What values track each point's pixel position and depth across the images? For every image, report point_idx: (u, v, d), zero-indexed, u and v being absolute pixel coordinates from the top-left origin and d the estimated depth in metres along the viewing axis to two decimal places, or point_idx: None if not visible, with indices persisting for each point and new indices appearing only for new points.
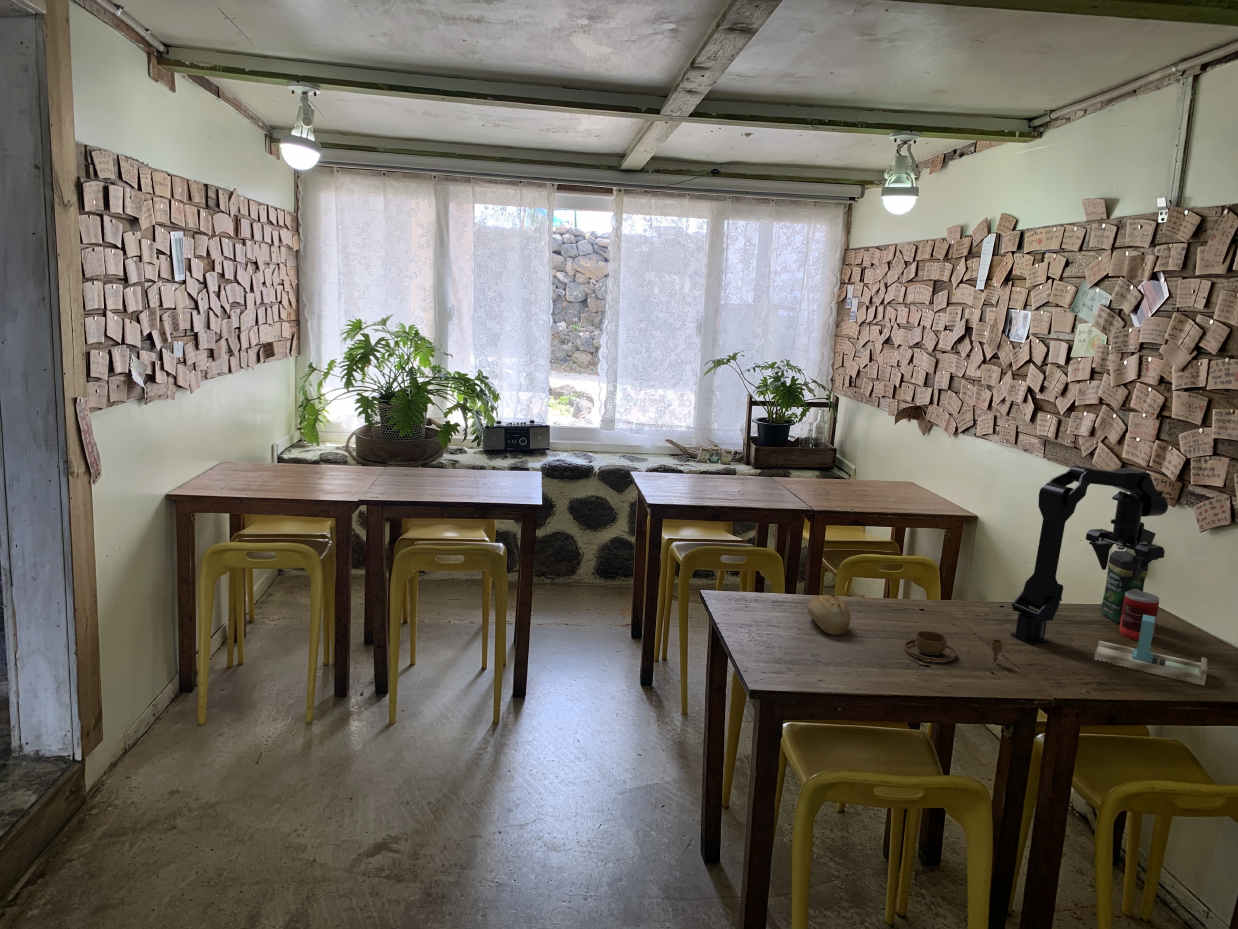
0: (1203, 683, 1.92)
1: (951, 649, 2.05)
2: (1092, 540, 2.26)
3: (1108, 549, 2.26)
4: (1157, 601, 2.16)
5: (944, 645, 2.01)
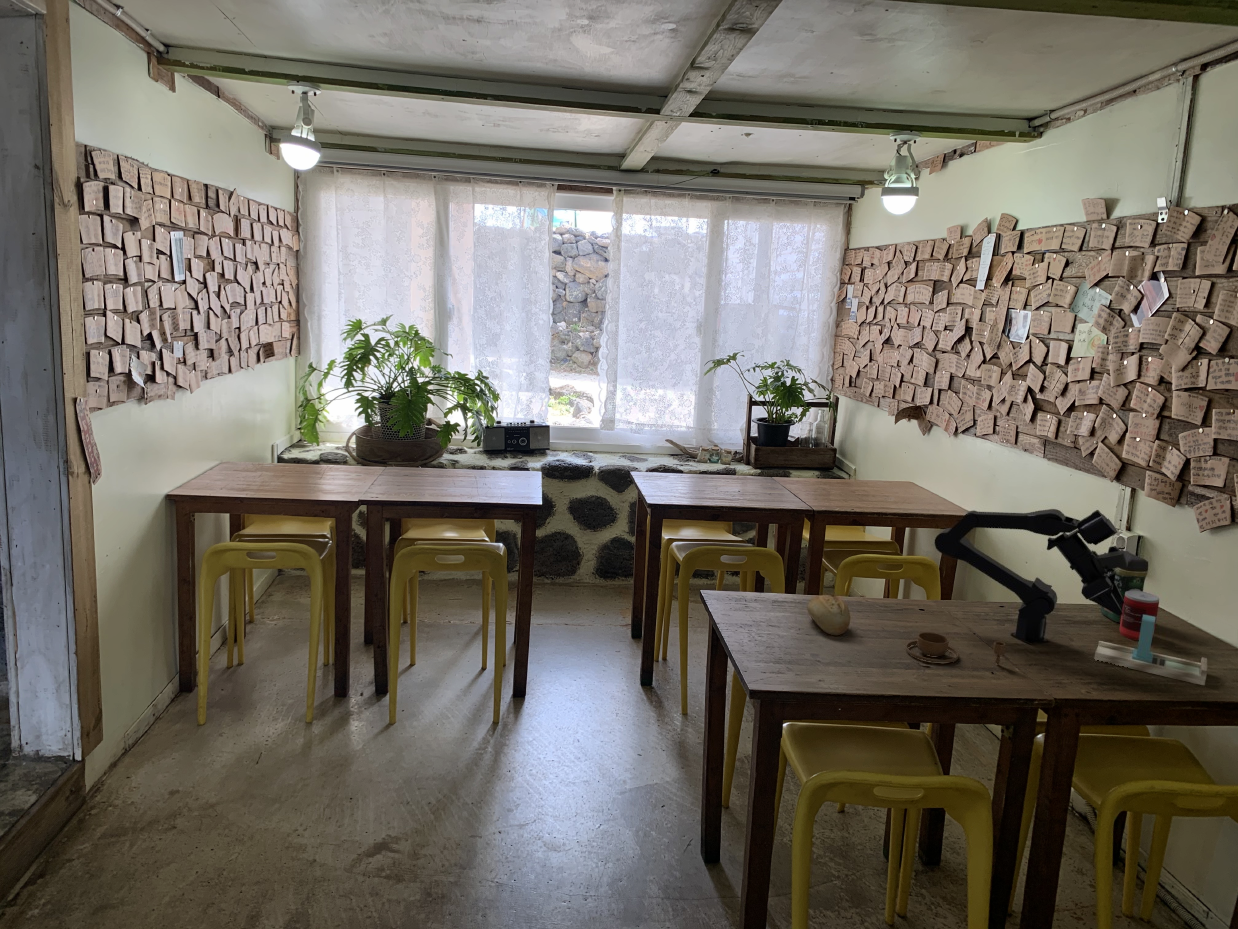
0: (1203, 683, 1.92)
1: (953, 651, 2.04)
2: None
3: (1111, 582, 2.08)
4: (1157, 601, 2.16)
5: (945, 647, 2.00)
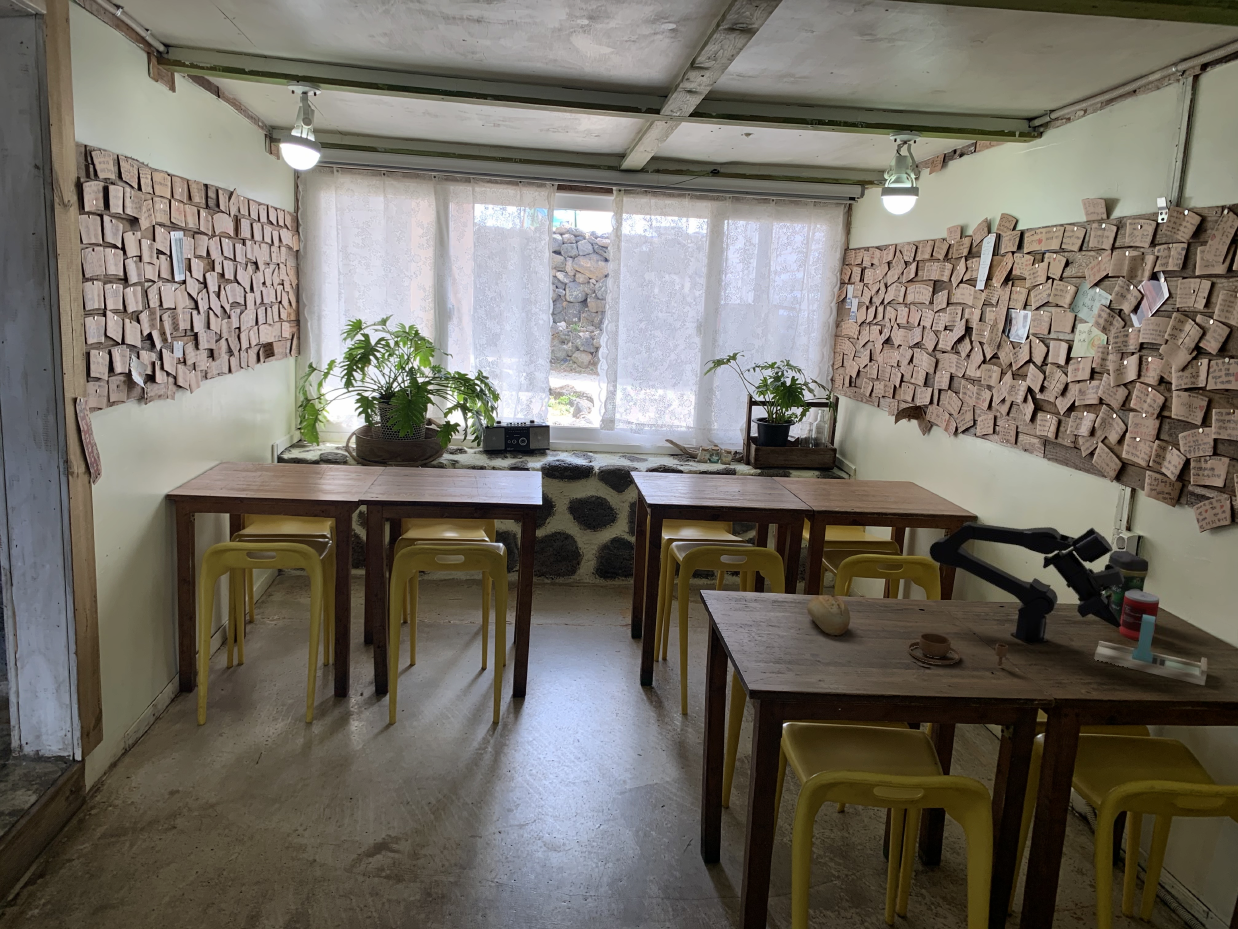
0: (1203, 683, 1.92)
1: (956, 652, 2.03)
2: None
3: None
4: (1157, 601, 2.16)
5: (947, 648, 1.99)
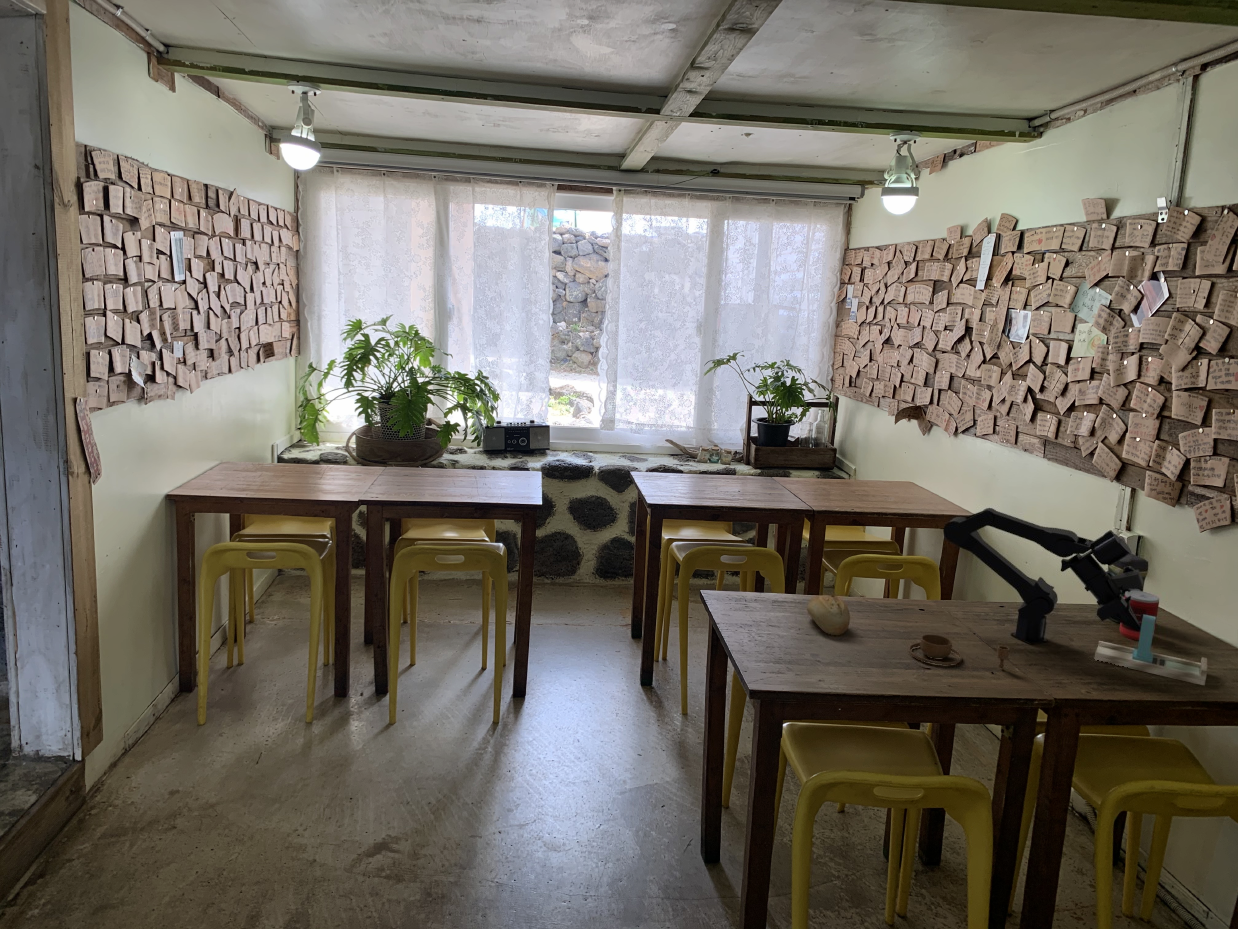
0: (1203, 683, 1.92)
1: (958, 654, 2.02)
2: None
3: None
4: (1157, 601, 2.16)
5: (948, 649, 1.99)
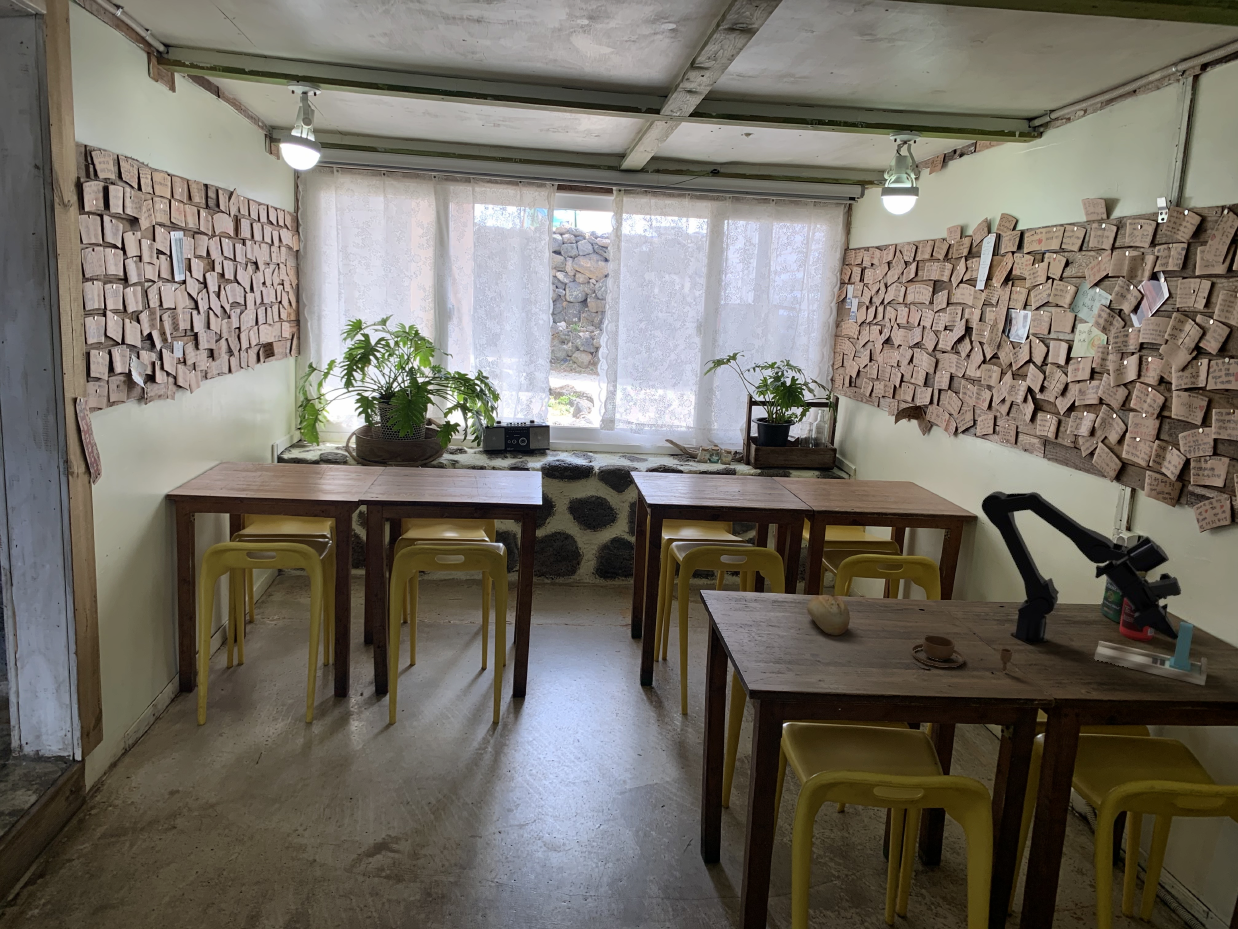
0: (1203, 683, 1.92)
1: (961, 656, 2.01)
2: None
3: None
4: None
5: (950, 651, 1.98)
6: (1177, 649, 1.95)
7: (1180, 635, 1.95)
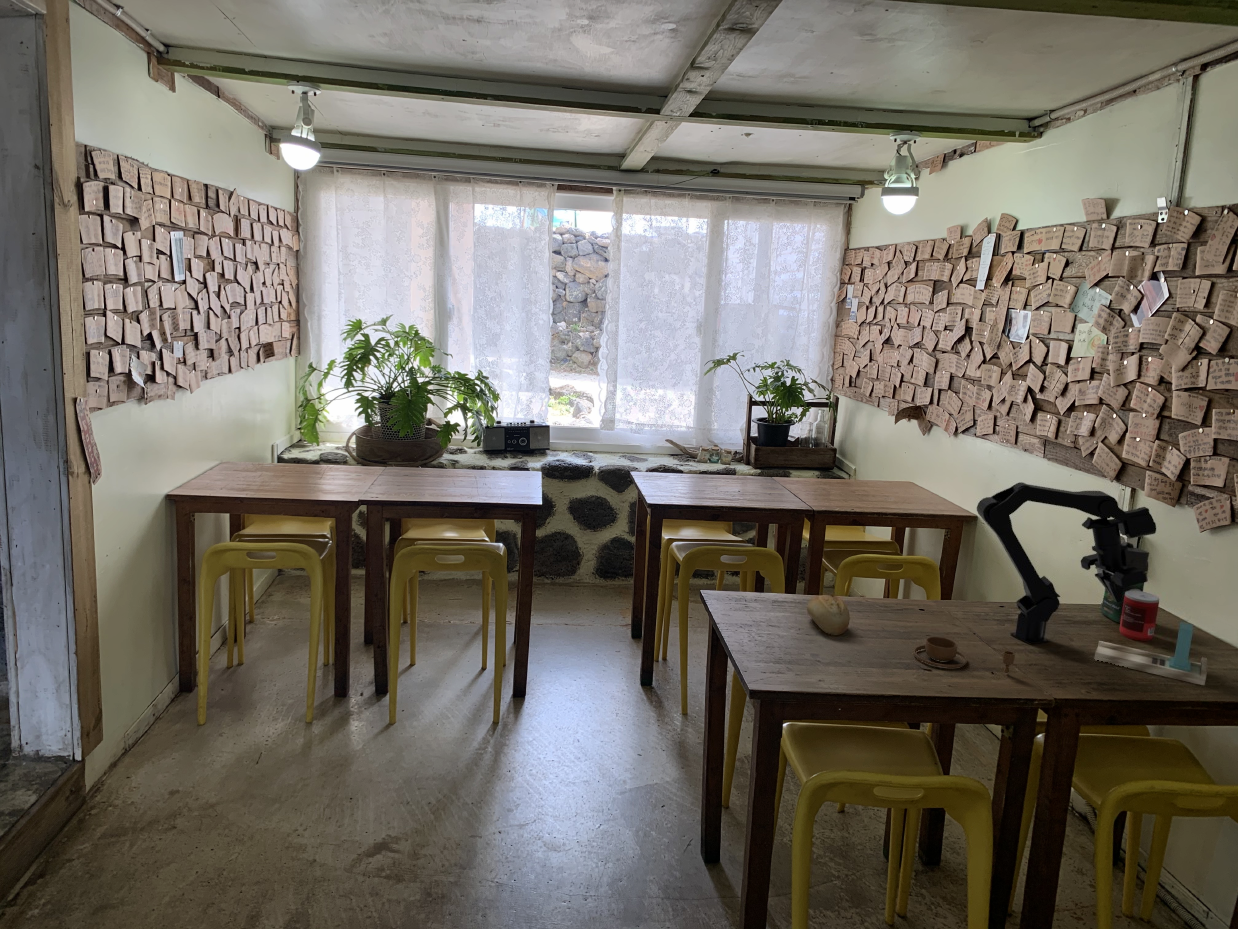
0: (1203, 683, 1.92)
1: (964, 657, 2.00)
2: (1085, 568, 2.16)
3: None
4: (1157, 601, 2.16)
5: (952, 652, 1.97)
6: (1177, 649, 1.95)
7: (1180, 635, 1.95)
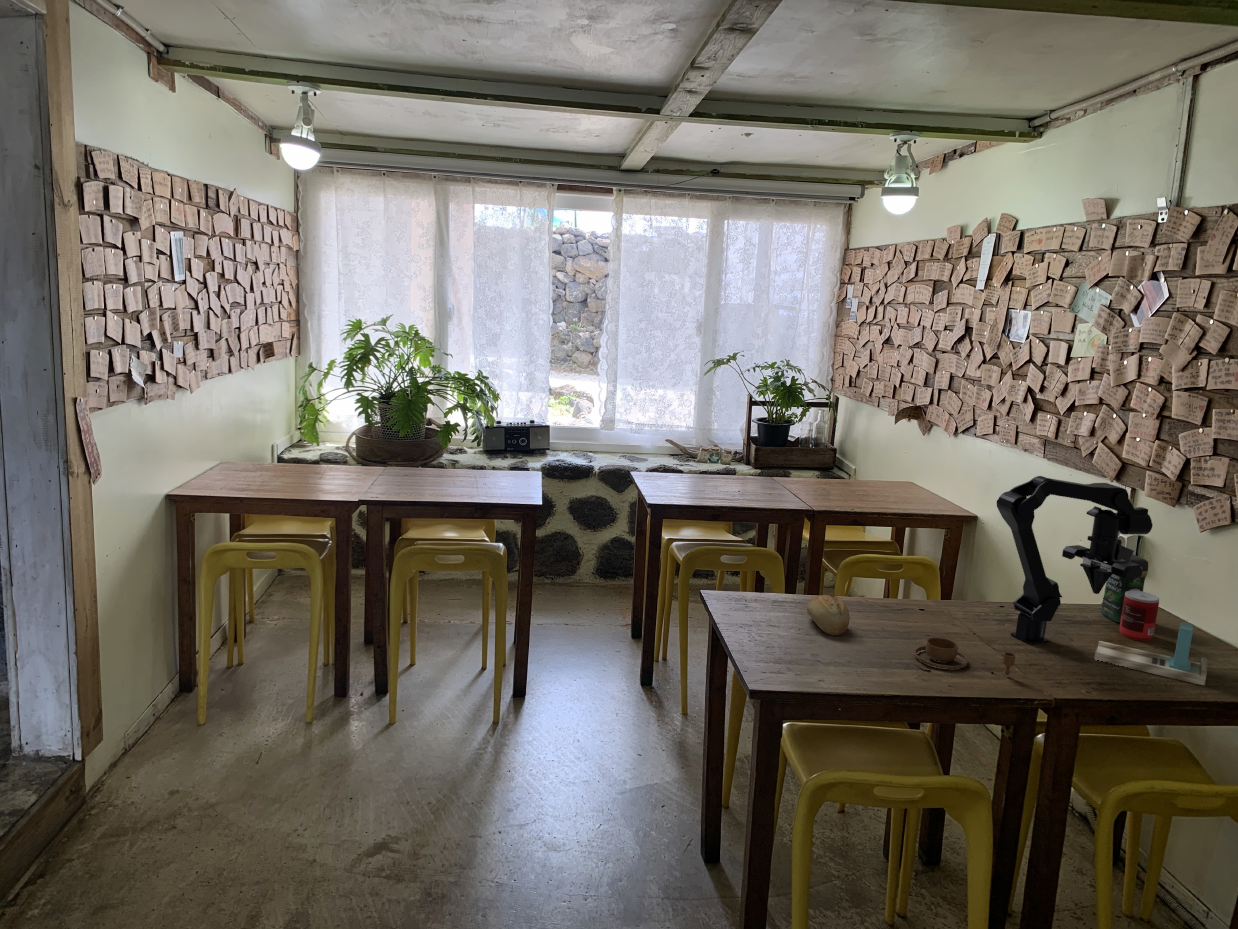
0: (1203, 683, 1.92)
1: (965, 659, 1.99)
2: (1068, 557, 2.19)
3: None
4: (1157, 601, 2.16)
5: (953, 653, 1.96)
6: (1177, 649, 1.95)
7: (1180, 635, 1.95)
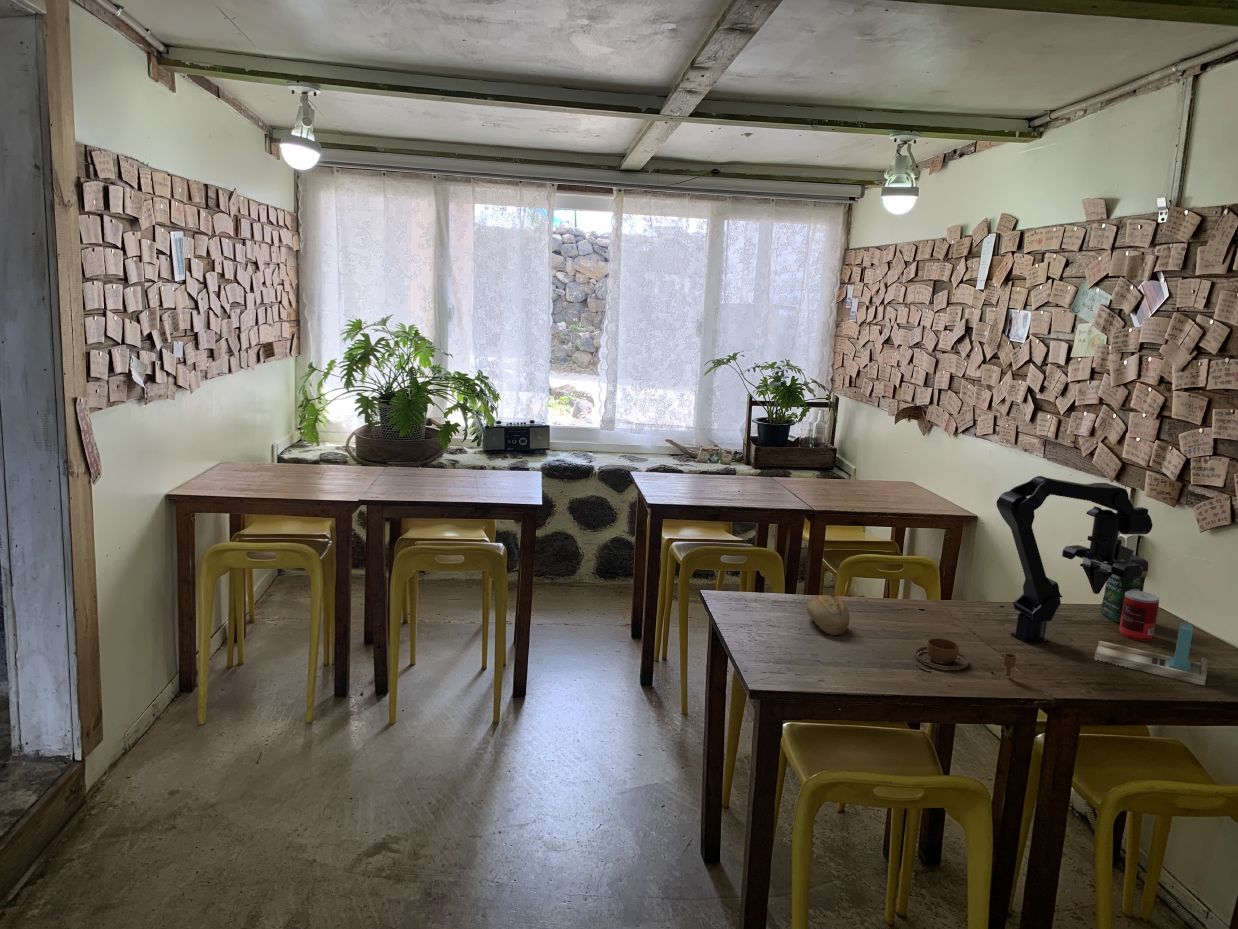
0: (1203, 683, 1.92)
1: (966, 660, 1.99)
2: (1068, 557, 2.19)
3: None
4: (1157, 601, 2.16)
5: (953, 654, 1.96)
6: (1177, 649, 1.95)
7: (1180, 635, 1.95)
